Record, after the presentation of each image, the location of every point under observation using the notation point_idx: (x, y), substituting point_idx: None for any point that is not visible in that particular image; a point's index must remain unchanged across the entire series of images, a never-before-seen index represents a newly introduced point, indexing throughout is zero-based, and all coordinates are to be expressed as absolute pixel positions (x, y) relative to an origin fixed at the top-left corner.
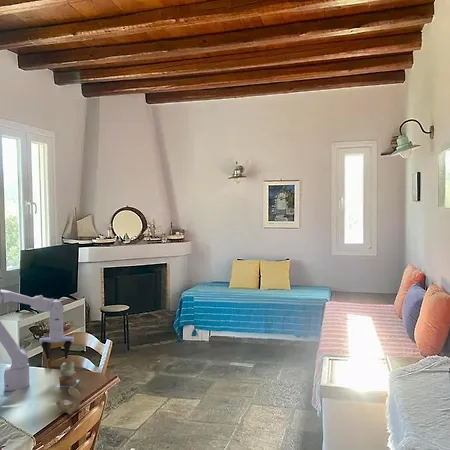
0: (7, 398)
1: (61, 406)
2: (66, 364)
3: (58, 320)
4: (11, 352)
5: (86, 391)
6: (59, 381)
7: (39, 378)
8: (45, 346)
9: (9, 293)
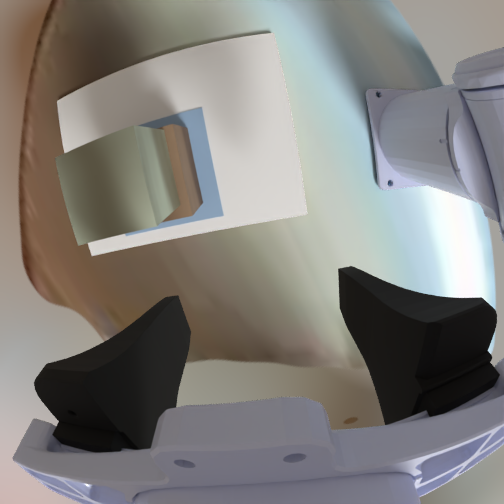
0: (389, 11)
1: None
2: (102, 177)
3: None
4: None
5: (48, 117)
6: (180, 126)
7: (373, 260)
8: (434, 314)
9: None
